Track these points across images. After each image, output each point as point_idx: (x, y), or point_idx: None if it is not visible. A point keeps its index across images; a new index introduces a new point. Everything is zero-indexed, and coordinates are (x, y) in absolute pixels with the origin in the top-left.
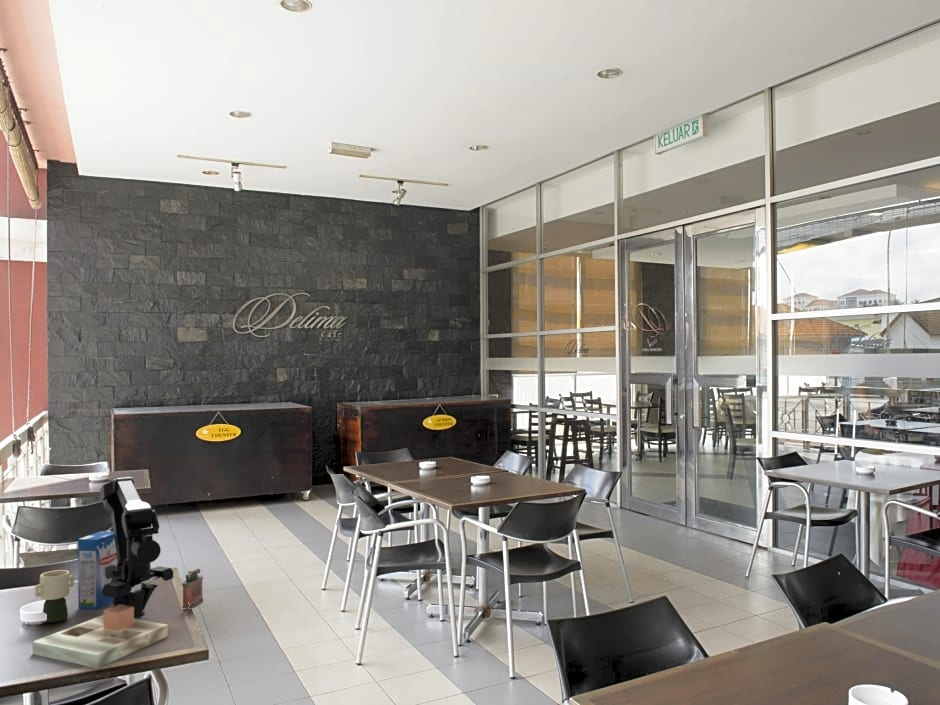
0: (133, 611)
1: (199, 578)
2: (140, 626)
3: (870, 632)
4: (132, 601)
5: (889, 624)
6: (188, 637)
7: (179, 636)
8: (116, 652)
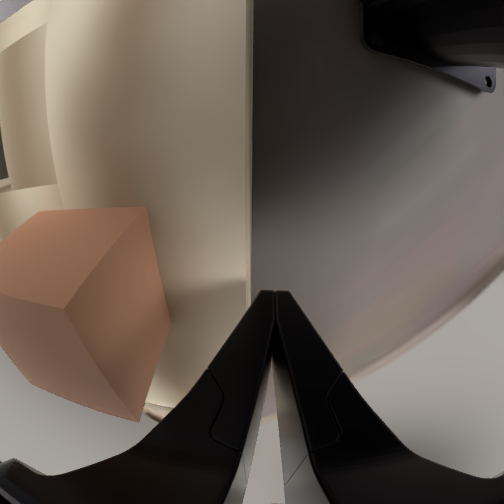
0: (144, 391)
1: None
2: (172, 362)
3: None
4: (199, 392)
5: None
6: (268, 410)
7: (265, 396)
8: None
